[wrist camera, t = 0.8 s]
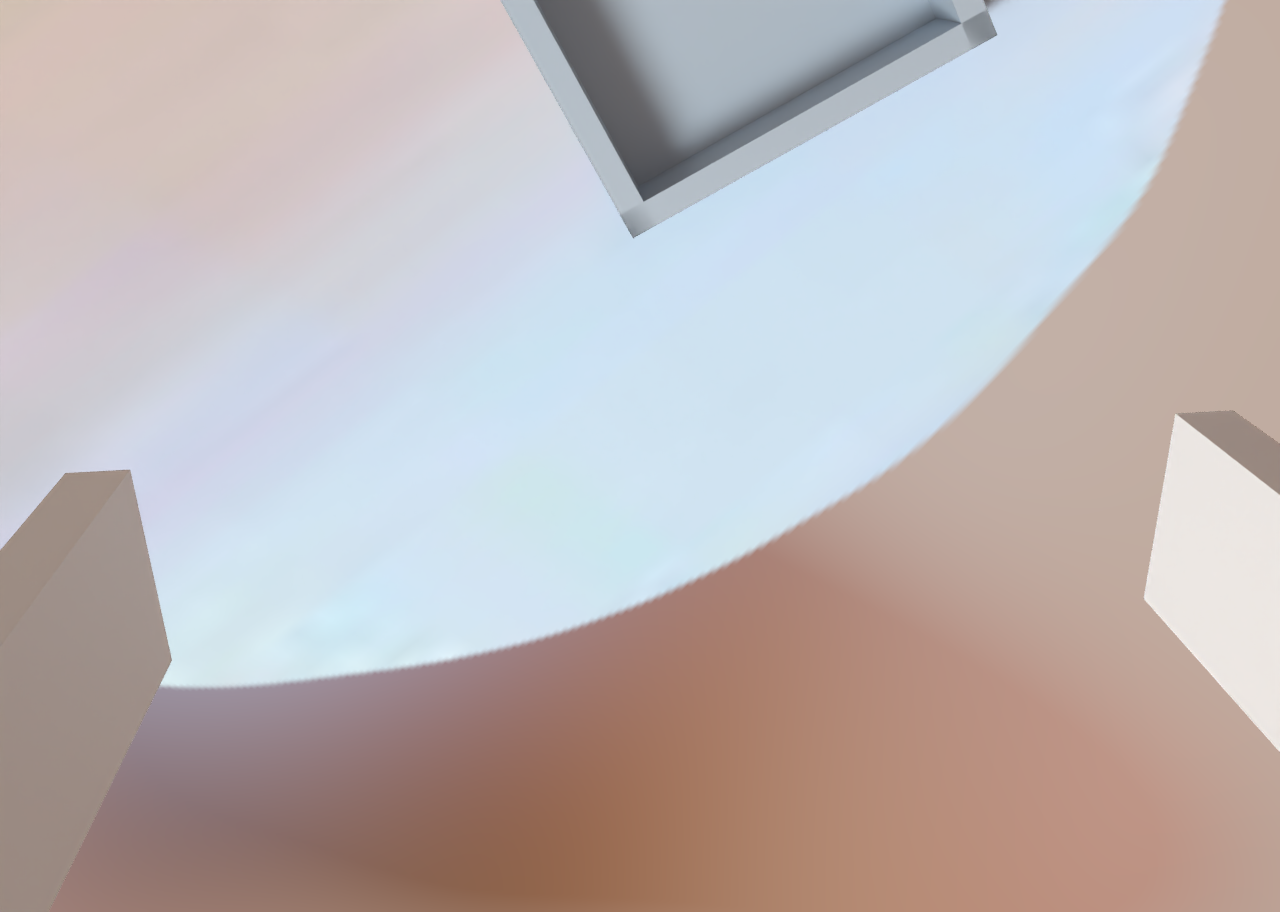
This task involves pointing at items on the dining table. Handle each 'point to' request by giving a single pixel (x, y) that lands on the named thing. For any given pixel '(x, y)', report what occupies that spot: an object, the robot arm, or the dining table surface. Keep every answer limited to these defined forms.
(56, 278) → the dining table surface
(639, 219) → the tray
